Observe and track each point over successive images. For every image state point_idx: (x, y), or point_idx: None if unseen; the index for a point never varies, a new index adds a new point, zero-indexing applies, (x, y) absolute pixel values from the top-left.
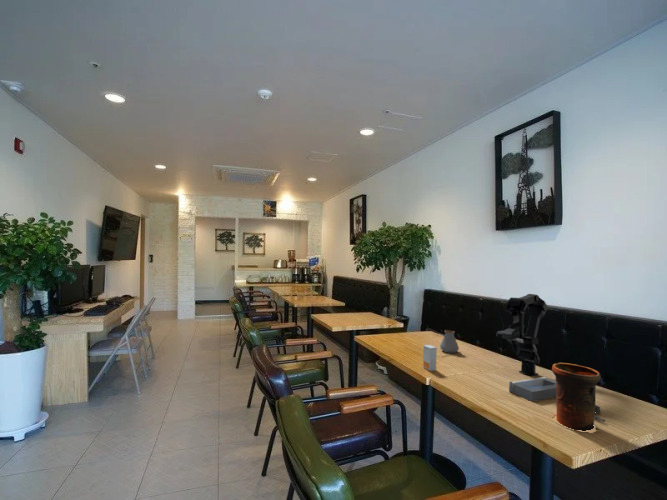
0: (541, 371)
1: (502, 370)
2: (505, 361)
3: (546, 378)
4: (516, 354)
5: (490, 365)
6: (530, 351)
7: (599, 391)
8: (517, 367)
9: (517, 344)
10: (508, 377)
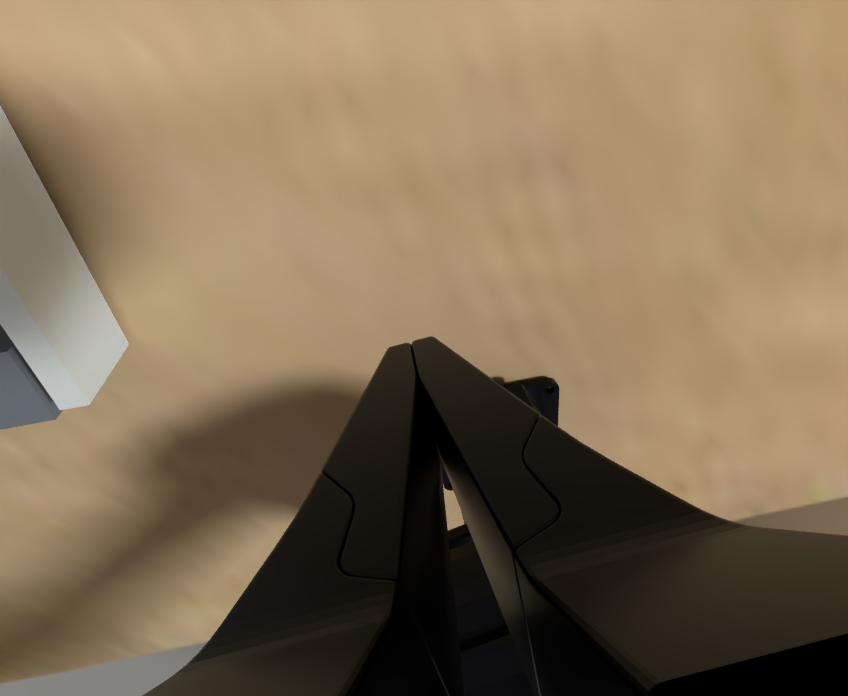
0: None
1: (662, 247)
2: (802, 446)
3: (63, 403)
4: (386, 353)
5: (837, 230)
6: (473, 666)
7: (63, 629)
8: (651, 444)
9: (199, 689)
10: (450, 130)
